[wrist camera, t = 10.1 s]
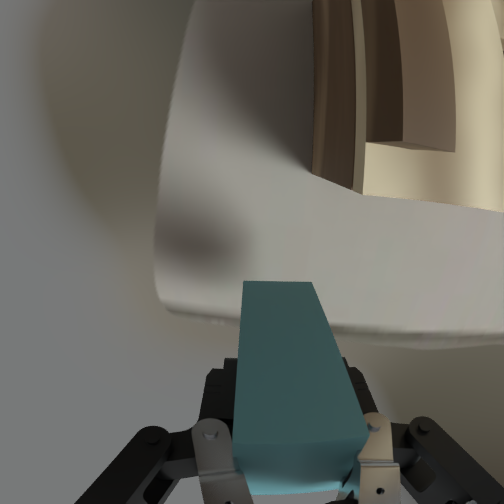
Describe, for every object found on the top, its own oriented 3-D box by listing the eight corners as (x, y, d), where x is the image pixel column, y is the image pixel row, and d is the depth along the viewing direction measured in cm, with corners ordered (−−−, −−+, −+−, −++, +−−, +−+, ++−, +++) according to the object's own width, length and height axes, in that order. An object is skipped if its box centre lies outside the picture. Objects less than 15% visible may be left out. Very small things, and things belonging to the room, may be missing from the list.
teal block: (311, 281, 17) (369, 434, 7) (304, 337, 19) (339, 488, 8) (243, 280, 17) (231, 443, 7) (242, 337, 19) (234, 494, 8)
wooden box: (482, 54, 16) (546, 39, 7) (484, 195, 20) (554, 220, 12) (312, 2, 16) (340, -64, 7) (311, 173, 20) (351, 189, 12)
